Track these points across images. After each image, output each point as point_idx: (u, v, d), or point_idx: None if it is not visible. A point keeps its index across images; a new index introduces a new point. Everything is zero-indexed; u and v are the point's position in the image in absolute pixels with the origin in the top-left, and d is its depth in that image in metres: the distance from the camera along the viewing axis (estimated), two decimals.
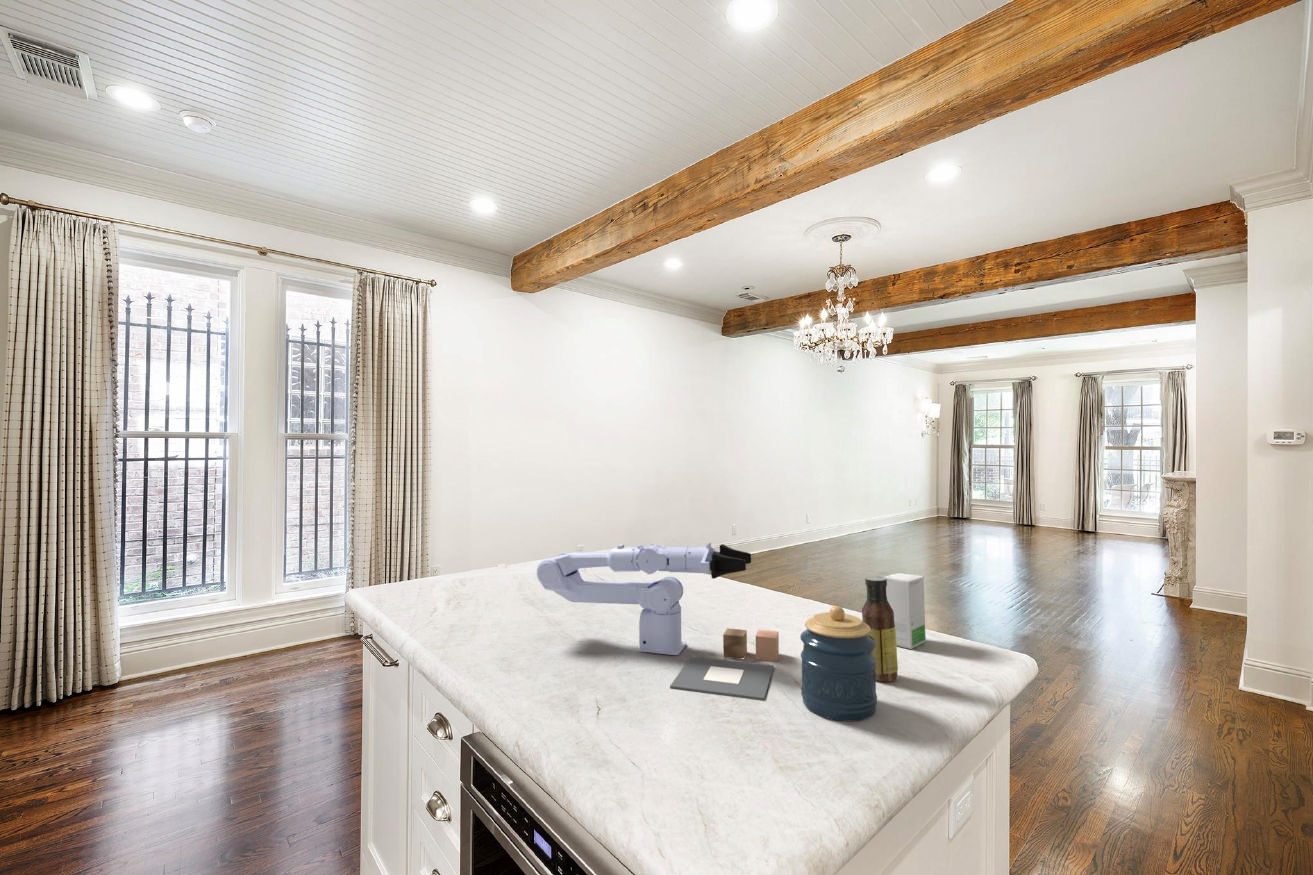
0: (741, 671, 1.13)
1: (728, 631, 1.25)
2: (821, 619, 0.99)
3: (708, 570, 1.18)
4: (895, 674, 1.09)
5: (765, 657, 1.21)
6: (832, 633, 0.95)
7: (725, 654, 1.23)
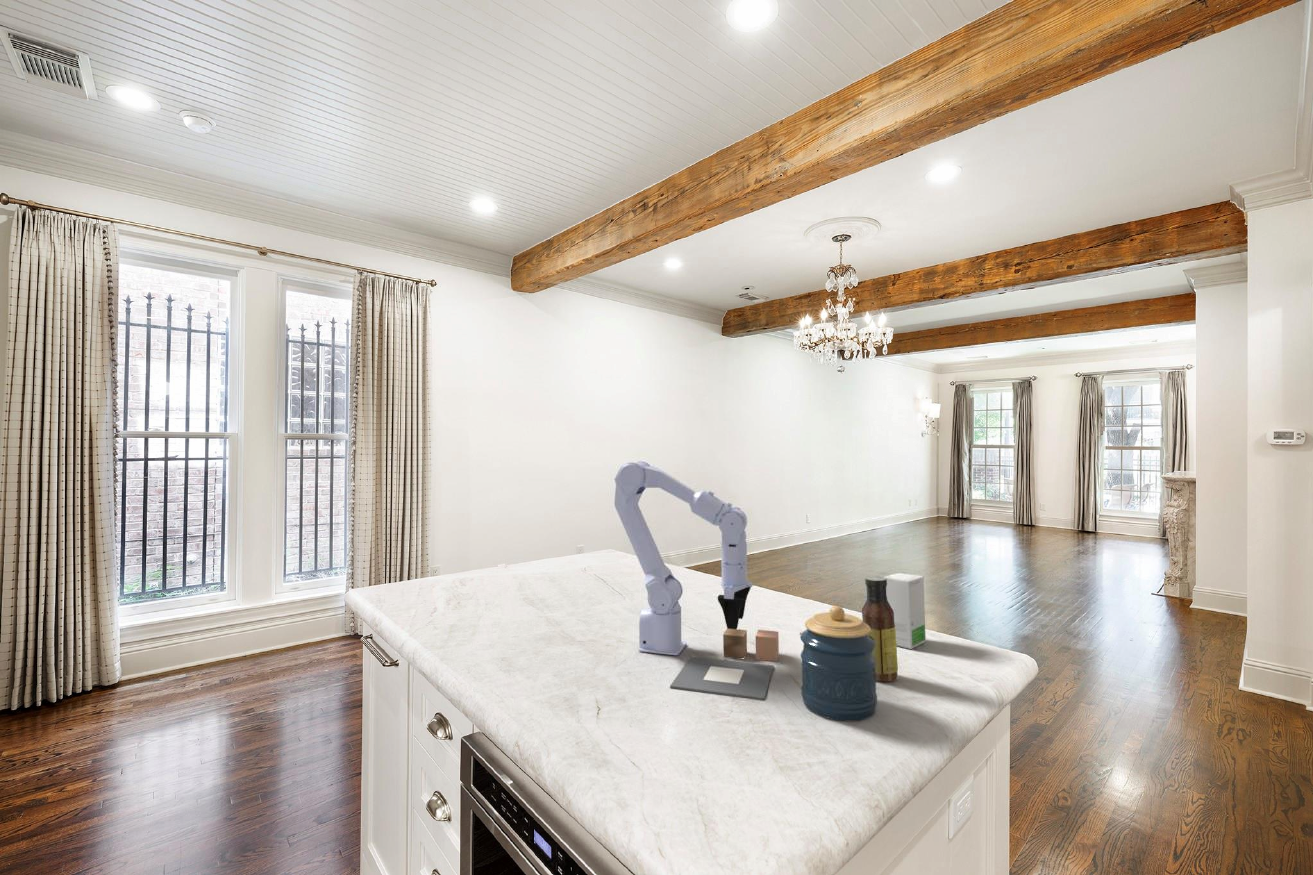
0: (741, 671, 1.13)
1: (728, 631, 1.25)
2: (821, 619, 0.99)
3: (725, 597, 1.18)
4: (895, 674, 1.09)
5: (765, 657, 1.21)
6: (832, 633, 0.95)
7: (725, 654, 1.23)
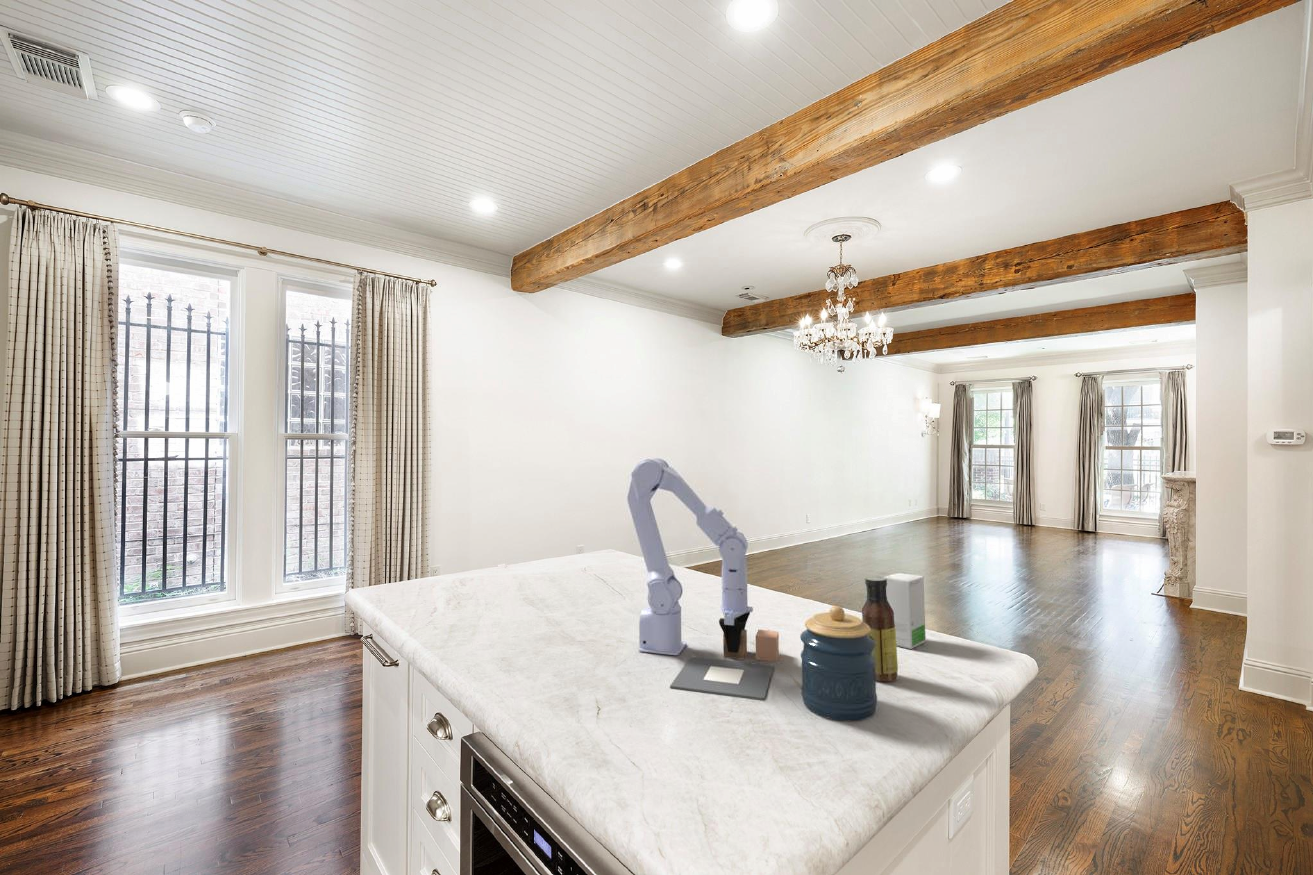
0: (741, 671, 1.13)
1: None
2: (821, 619, 0.99)
3: (725, 623, 1.18)
4: (895, 674, 1.09)
5: (765, 657, 1.21)
6: (832, 633, 0.95)
7: (725, 654, 1.23)
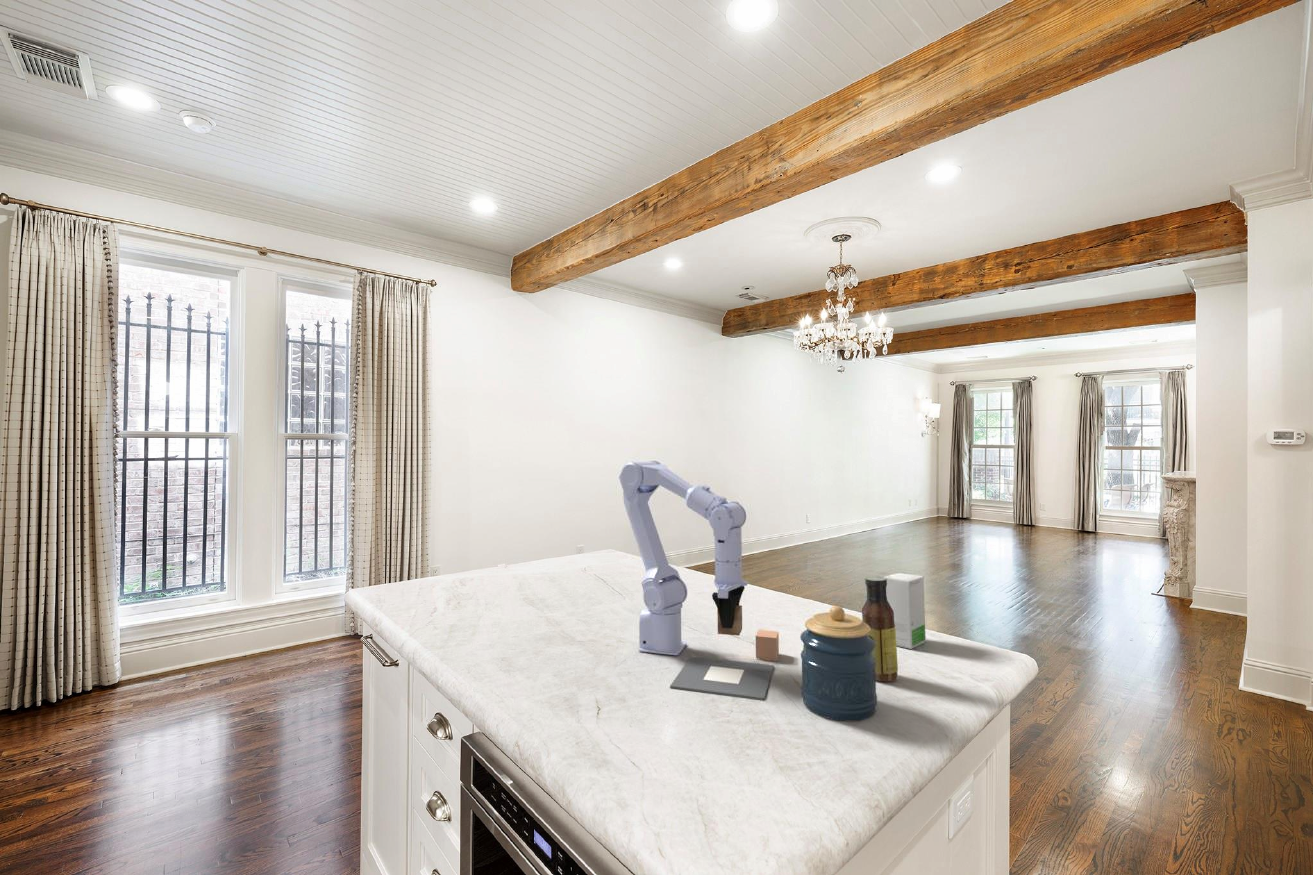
0: (741, 671, 1.13)
1: None
2: (821, 619, 0.99)
3: (719, 597, 1.11)
4: (895, 674, 1.09)
5: (765, 657, 1.21)
6: (832, 633, 0.95)
7: (719, 630, 1.16)
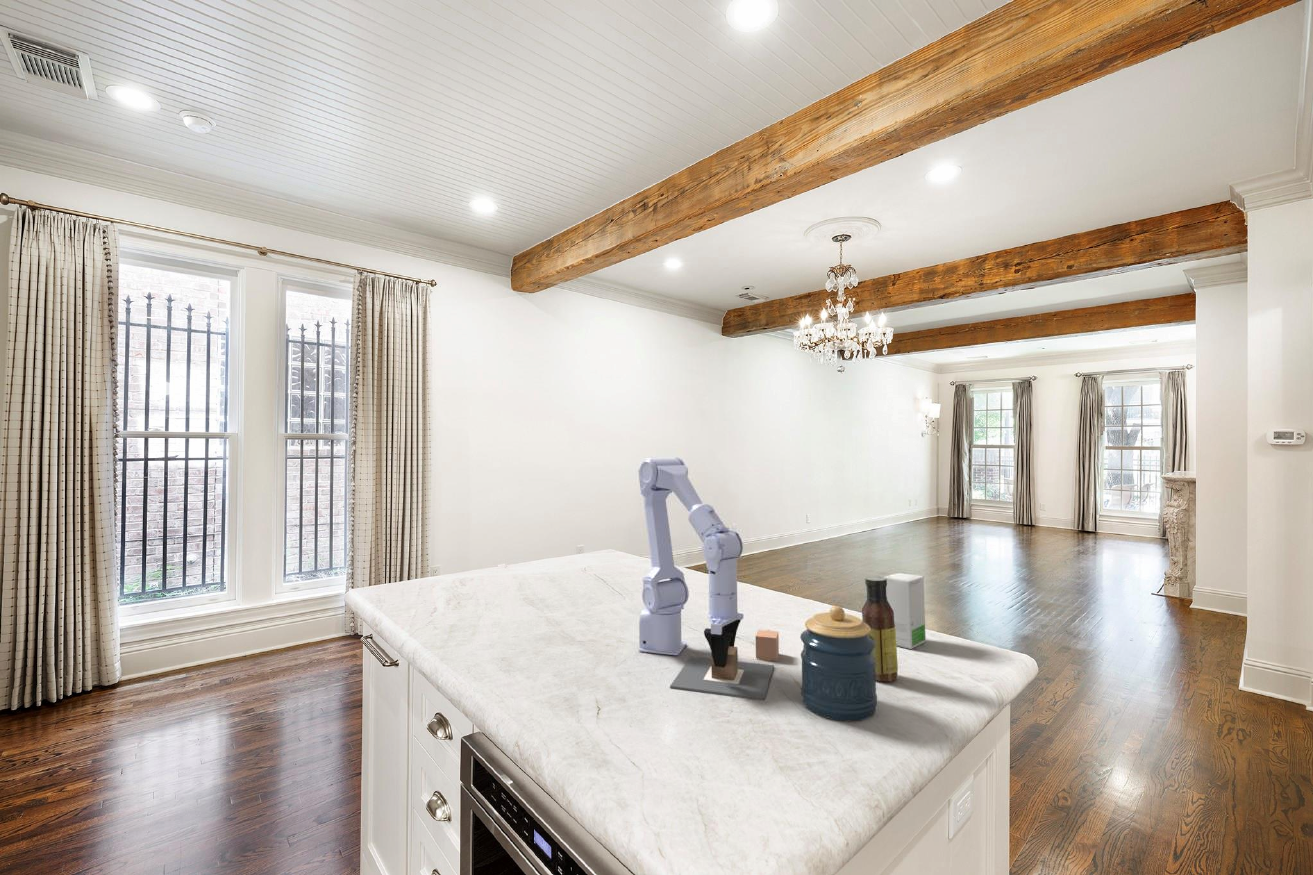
0: (741, 671, 1.13)
1: None
2: (821, 619, 0.99)
3: (712, 632, 1.05)
4: (895, 674, 1.09)
5: (765, 657, 1.21)
6: (832, 633, 0.95)
7: (713, 674, 1.10)
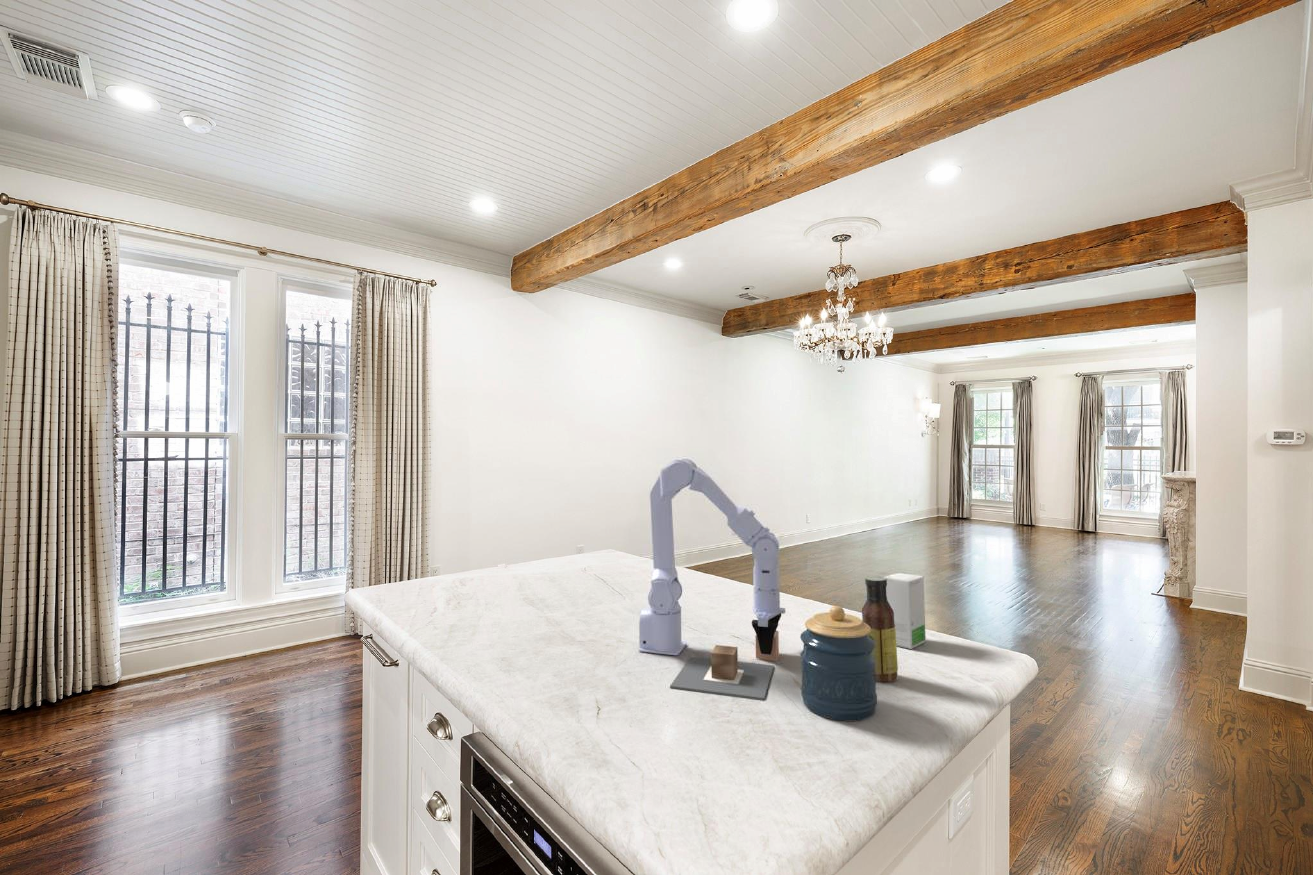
0: (741, 671, 1.13)
1: (717, 648, 1.12)
2: (821, 619, 0.99)
3: (759, 625, 1.16)
4: (895, 674, 1.09)
5: (765, 657, 1.21)
6: (832, 633, 0.95)
7: (713, 674, 1.10)
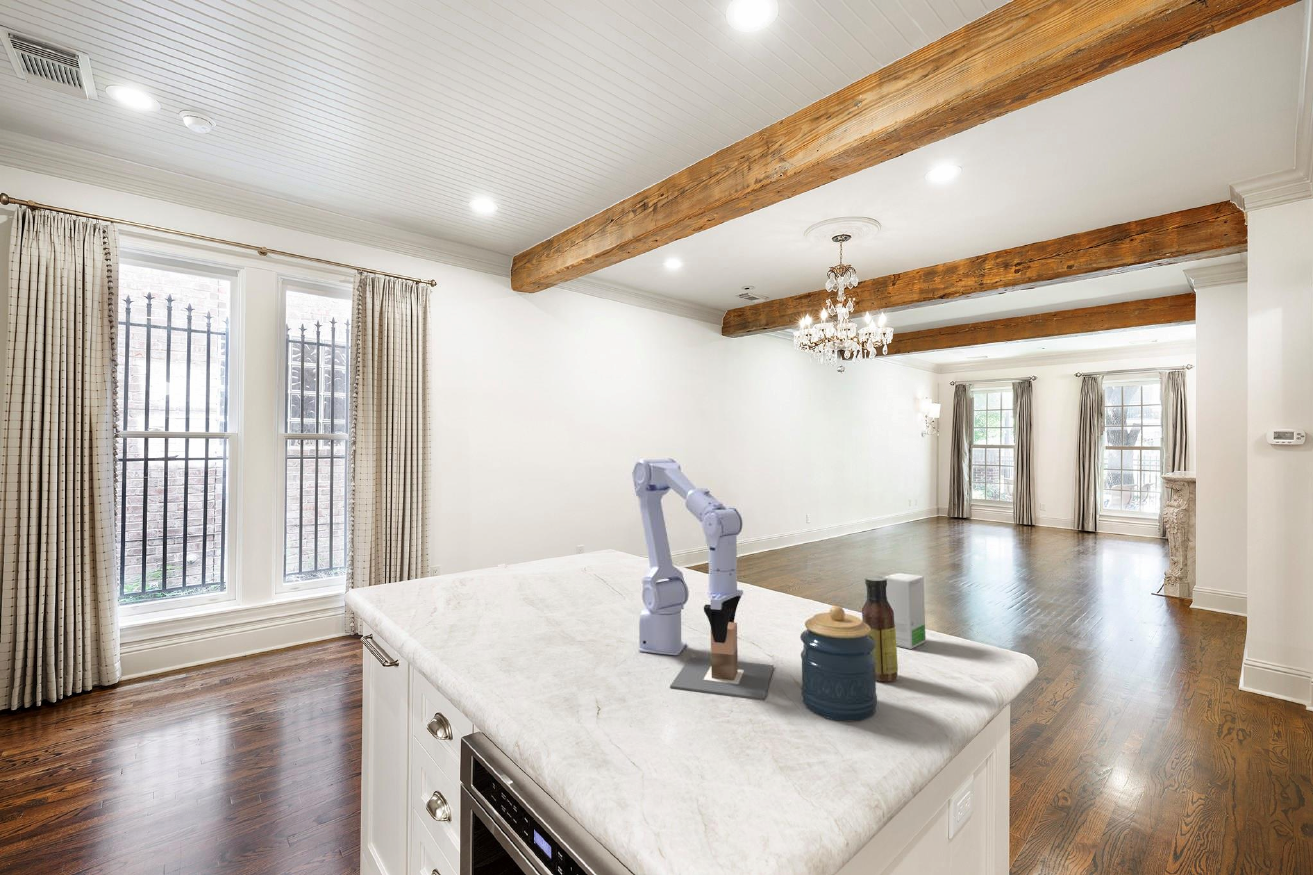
0: (741, 671, 1.13)
1: None
2: (821, 619, 0.99)
3: (712, 608, 1.05)
4: (895, 674, 1.09)
5: (721, 650, 1.10)
6: (832, 633, 0.95)
7: (713, 674, 1.10)
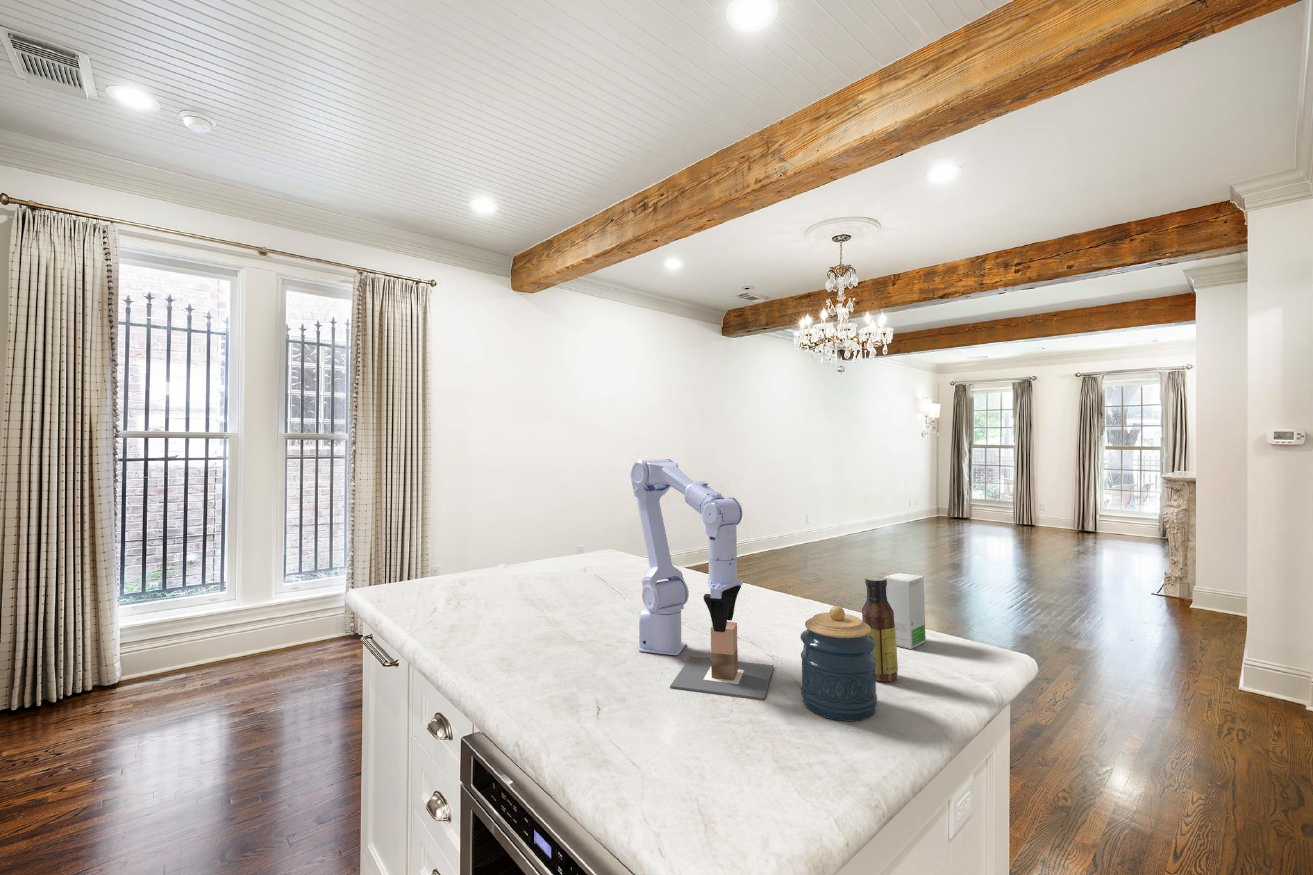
0: (741, 671, 1.13)
1: None
2: (821, 619, 0.99)
3: (712, 597, 1.06)
4: (895, 674, 1.09)
5: (721, 650, 1.10)
6: (832, 633, 0.95)
7: (713, 674, 1.10)
